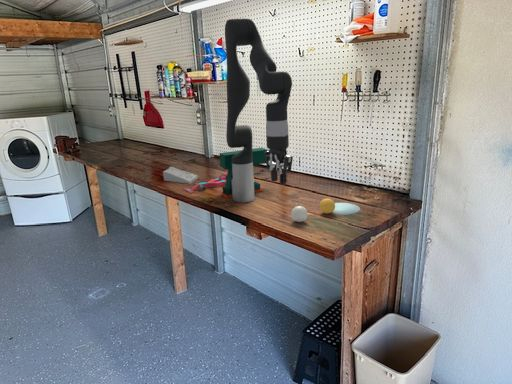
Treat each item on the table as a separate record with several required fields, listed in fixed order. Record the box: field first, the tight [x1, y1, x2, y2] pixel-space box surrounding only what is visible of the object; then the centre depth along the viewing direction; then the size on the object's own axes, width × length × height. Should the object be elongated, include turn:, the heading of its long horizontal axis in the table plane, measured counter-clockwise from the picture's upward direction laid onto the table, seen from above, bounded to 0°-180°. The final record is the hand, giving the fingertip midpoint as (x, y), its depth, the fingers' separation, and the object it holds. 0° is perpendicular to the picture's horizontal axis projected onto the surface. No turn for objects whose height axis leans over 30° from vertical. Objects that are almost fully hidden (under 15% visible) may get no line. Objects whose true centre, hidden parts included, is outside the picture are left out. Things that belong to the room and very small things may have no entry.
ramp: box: [162, 166, 199, 185], centre depth 212 cm, size 28×16×5 cm, turn 36°
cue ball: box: [290, 205, 308, 223], centre depth 142 cm, size 6×6×6 cm
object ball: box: [319, 197, 336, 215], centre depth 149 cm, size 6×6×6 cm
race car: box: [183, 170, 228, 194], centre depth 194 cm, size 14×6×25 cm
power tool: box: [218, 147, 269, 199], centre depth 181 cm, size 32×7×20 cm, turn 115°
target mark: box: [330, 202, 361, 216], centre depth 153 cm, size 14×14×1 cm
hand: (278, 182), depth 132 cm, fingers open, 4 cm apart
